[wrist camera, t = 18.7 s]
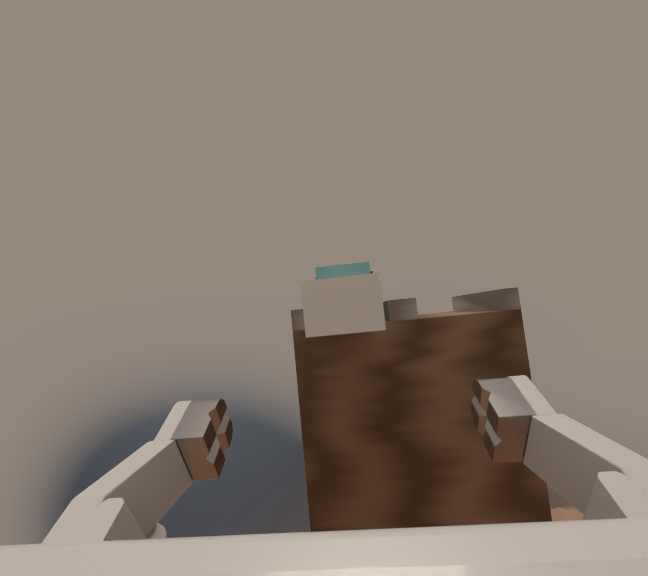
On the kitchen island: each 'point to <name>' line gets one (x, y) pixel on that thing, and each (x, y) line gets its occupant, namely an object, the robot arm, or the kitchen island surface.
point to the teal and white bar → (343, 301)
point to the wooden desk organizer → (412, 419)
